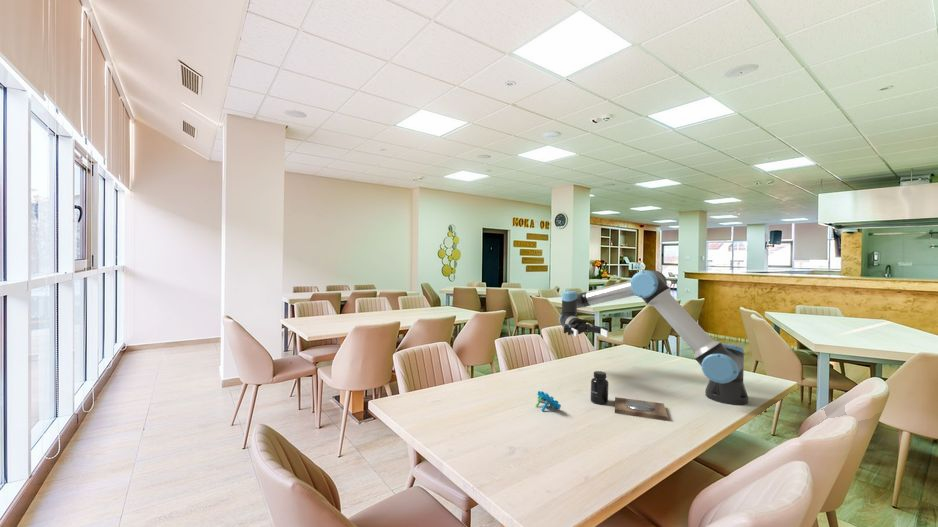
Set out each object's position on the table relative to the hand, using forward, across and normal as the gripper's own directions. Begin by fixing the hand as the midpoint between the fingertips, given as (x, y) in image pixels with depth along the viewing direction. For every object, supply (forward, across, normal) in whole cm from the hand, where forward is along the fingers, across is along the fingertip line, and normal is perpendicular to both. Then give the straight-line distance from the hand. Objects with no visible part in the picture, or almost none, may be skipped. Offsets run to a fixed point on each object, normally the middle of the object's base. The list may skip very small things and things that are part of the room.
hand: (592, 334), depth 166 cm
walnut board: (+19, -12, -25) cm, 34 cm away
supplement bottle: (+10, 0, -26) cm, 28 cm away
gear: (+16, +23, -26) cm, 39 cm away
